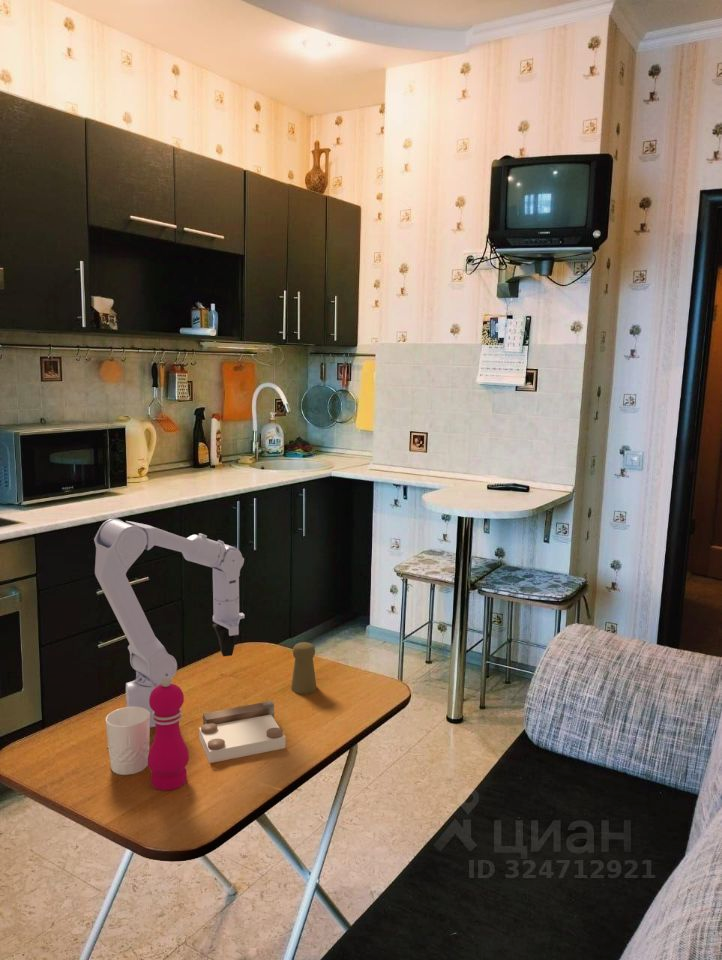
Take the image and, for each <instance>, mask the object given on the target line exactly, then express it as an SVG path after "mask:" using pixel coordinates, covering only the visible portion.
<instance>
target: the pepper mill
mask: <svg viewBox="0 0 722 960" xmlns="http://www.w3.org/2000/svg"><path fill="white" fill-rule="evenodd" d="M184 697H185V696H184V692H183V690H182V689H181V688H180V686H178V685H177V684H174V683H172V684H171V679H170V678H169V677H164V678H163V679H162V680H161V685H159V686H157V687H156V688H155V689H153V691H152V692H151V694H150V697H149V705H150V707H151V709H152V710H153V714H152V715H153V722H154V723H155V725H156V727H155V734H154V738H153V741H152V744H151V745H150V747H149V755H148V765H147V767H149V770H150V771H151V773H150V781H151V782H150V783H151V786H152V787H153V788H154V789H156V790H159V791H172V790H173V791H174V790H176V789H178V788H180V787H182V786H183V785H184V784H185V783H186V781H187V779H188V775H187V774H188V773H187V772H188V771H187V768H186V766H187V765H188V763H189V760H190V754H189V749H188V746H187V744H186V742H185V741H184V737H183V735H182V734H181V730H180V721H181V718H182V708H181V707H183V705H184V702H185V701H184V700H185V698H184Z"/></svg>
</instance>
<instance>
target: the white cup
mask: <svg viewBox="0 0 722 960" xmlns="http://www.w3.org/2000/svg"><path fill="white" fill-rule="evenodd" d="M105 726H106V727H105V728H106V737H107V747H108V755H109V761H110V768H111V771H112V772H113V773H114V774H117V775H121V776H129V775H135V774H138V773H140V772H142V771H144V770H145V769H147V767H148V755H149V751H150V741H151V740H150V738H151V737H150V735H151V734H150V733H151V730H150V712H149V711H148V710H147V709H145V708H142V707H126V706H125V707H121V708H117V709H115V710H113V711H110V713H108V714H107V715H106V717H105Z"/></svg>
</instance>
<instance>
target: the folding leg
mask: <svg viewBox="0 0 722 960" xmlns="http://www.w3.org/2000/svg"><path fill="white" fill-rule="evenodd" d="M265 715H272V717H273V718H274V719H275V702H274V701H272V700H267V701H263V702H260V703H253V704H248V705H242V706H237V707H230V708H225V709H220V710H216V711H210V712H204V713H202V723H203V724H202V725H204V724H207V723H214V724H221V723H227V722H232V721H238V720H243V719H249V718H254V717H260V716H265Z"/></svg>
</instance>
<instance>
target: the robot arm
mask: <svg viewBox="0 0 722 960" xmlns="http://www.w3.org/2000/svg"><path fill="white" fill-rule="evenodd" d="M207 537H208V535H206V534H204V533H198V534H192V535H189V536H188V537H184V536H180V535H177V534H175V533H172V532H168V531H166V530H164V529H160V528H158V527H154V526H152V525H149V524H144V523H141V522H140V523H139V522H135V521H128V520H125V522H124V521H123V520H122V519H119V518H110V519H107V520H106V521H104V522H103V523H102V524H101V525H100V526H99V529H98V530H97V532H96V534H95V537H94V538H93V541H94V544H95V563H94V564H95V565H94V575H95V578H96V579H97V582H98V583H99V585H100V587H101V589H102V592H103V593H104V595H105V597H106V599H107V601H108V604H109V605H110V607H111V609H112V611H113V614H114V615H115V617H116V619H117V621H118V623H119V625H120V627H121V629H122V631H123V633H124V636H125V637H126V639H127V641H128V643H129V645H128V646H127V650H128V651H129V663H130V666H131V667H132V669H134V671H135V674H136V675H135V679H134V680H132V681H129V682H126V683H125V701H126V702H125V703H126V704H125V705H126V706H125V707H142V708H145V709H147V710H148V711H149V712H150V728H151V729H152V728H156V725H155V723H154V722H153V715H152V714H153V710H152V709H151V707H150V705H149V697H150V694H151V692H152V691H153V689H155V688H156V687H157V686H159V685H161V680H162V679H163V678H164V677H169V678H170V679H171V684H173V678H174V676H175V675H176V673H177V670H178V662H177V660H176V658H175V657H174V656H173V655H171V654H169V653H168V651H167V650H166V647H165V646H164V645H163V644H162V642H161V641H160V640H159V639H158V637H156V635H155V633H154V631H153V629H152V627H151V624H150V623H149V621H148V619H147V615H145V612H144V610H143V608H142V605H141V604H140V602H139V599H138V598H137V596H136V594H135V591H134V589H133V587H132V585H131V583H130V581H129V579H128V577H127V572H128V571H129V569H130V568H131V566H132V565H133V564H135V562H136V561H137V559H138V558H139V557H140V556H141V555H142V554H143V552H144V550H146V551H149V550H151V549H152V548H153V547H154V546H157V547H160V548H165V549H168V550H172V551H175V552H179V553H181V555H182V556H183V558H184V560H186V561H187V562H190V563H191V562H192V563H194V564H195V563H196V564H197V565H202V566H205V567H209V568H212V592H213V593H212V596H213V598H212V599H213V600H212V601H213V602H212V603H213V604H212V605H213V607H212V608H213V610H212V611H213V615H212V622H213V623H212V627H213V629H214V630H215V633H216V636H217V638H218V639H217V640H218V643H219V648H220V652H221V654H222V657H229V656H230V657H231V656H233V653H234V650H235V645H236V642H237V641H236V640H237V638H238V636H239V634H240V632H241V628H242V627H241V626H240V620H242V619H245V618H246V617H245V615H246V614H244V613H243V612H240V578H239V577H240V576H241V573H240V572H241V569H242V567H243V566H244V562H245V558H244V557H243V554H242V553H241V551H240V549H238V548H237V547H234V546H232V545H229V544H225V542H224V541H223V540H220V539H218V540H217V541H216V540H213V539H210V538H207Z"/></svg>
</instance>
